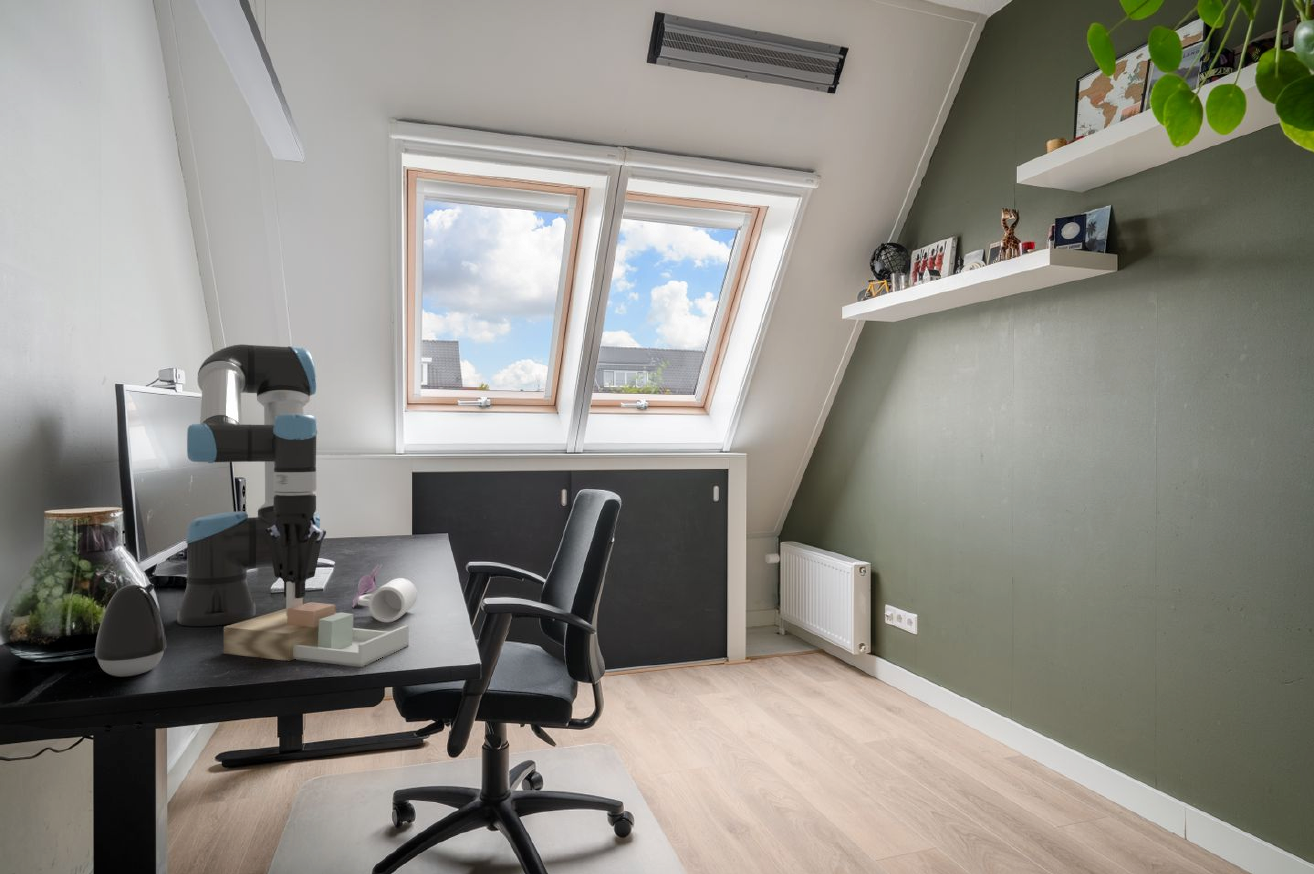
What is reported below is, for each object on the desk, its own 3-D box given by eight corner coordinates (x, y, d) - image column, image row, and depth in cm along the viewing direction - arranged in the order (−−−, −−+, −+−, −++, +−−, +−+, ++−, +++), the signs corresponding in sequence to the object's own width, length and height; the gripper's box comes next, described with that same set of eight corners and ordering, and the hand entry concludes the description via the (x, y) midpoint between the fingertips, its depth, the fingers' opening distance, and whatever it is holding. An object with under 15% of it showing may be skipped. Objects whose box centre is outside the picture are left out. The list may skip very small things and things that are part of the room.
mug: (417, 612, 178) (417, 577, 178) (404, 622, 169) (404, 586, 168) (365, 612, 178) (365, 577, 178) (349, 622, 168) (349, 586, 168)
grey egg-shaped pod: (180, 663, 138) (180, 579, 138) (139, 682, 128) (140, 591, 128) (124, 662, 138) (124, 578, 138) (79, 681, 128) (80, 590, 128)
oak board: (223, 653, 144) (223, 626, 144) (286, 632, 160) (287, 608, 160) (288, 660, 140) (288, 633, 140) (347, 638, 155) (347, 613, 155)
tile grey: (318, 619, 144) (332, 621, 143) (340, 612, 150) (353, 614, 149) (317, 651, 144) (330, 653, 143) (339, 642, 150) (352, 644, 149)
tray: (292, 659, 141) (293, 637, 141) (344, 639, 154) (344, 619, 154) (361, 667, 137) (362, 644, 137) (408, 646, 150) (408, 625, 150)
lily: (364, 600, 194) (345, 570, 191) (407, 583, 194) (388, 552, 190) (351, 626, 183) (330, 594, 180) (396, 608, 182) (376, 576, 179)
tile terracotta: (287, 624, 146) (287, 608, 146) (310, 617, 152) (310, 602, 152) (313, 627, 145) (313, 611, 145) (335, 619, 150) (335, 604, 150)
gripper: (252, 493, 147) (252, 616, 147) (308, 495, 143) (307, 621, 144) (282, 491, 154) (281, 607, 155) (336, 493, 151) (335, 612, 151)
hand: (294, 614), depth 149 cm, fingers closed
